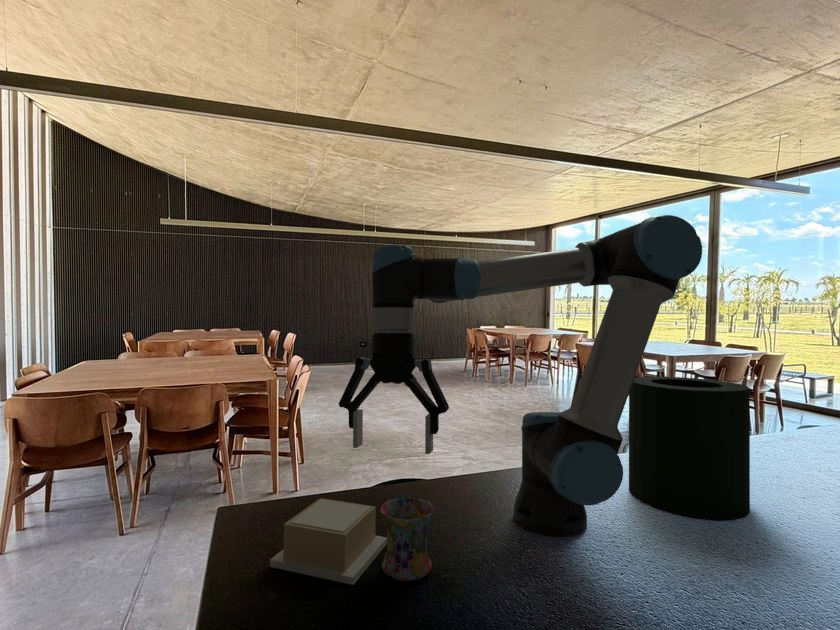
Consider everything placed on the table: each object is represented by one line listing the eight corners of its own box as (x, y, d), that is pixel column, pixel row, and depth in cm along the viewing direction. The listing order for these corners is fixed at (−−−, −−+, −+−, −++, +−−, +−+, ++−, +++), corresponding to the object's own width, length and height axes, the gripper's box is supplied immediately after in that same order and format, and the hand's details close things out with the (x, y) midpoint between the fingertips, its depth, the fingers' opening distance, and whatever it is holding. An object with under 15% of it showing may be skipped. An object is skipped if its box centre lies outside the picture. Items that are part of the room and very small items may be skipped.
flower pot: (632, 509, 101) (632, 386, 102) (626, 474, 125) (626, 374, 125) (766, 529, 92) (766, 394, 92) (732, 487, 115) (732, 379, 115)
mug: (439, 583, 72) (440, 517, 72) (383, 590, 70) (383, 522, 70) (423, 546, 84) (424, 490, 84) (374, 551, 82) (375, 493, 82)
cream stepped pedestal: (387, 543, 85) (387, 505, 85) (353, 585, 71) (353, 539, 72) (314, 530, 90) (314, 494, 90) (270, 566, 77) (270, 523, 77)
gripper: (464, 331, 81) (464, 448, 81) (339, 330, 87) (338, 438, 87) (457, 332, 74) (457, 461, 73) (321, 331, 80) (320, 449, 80)
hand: (392, 449), depth 80 cm, fingers open, 13 cm apart
